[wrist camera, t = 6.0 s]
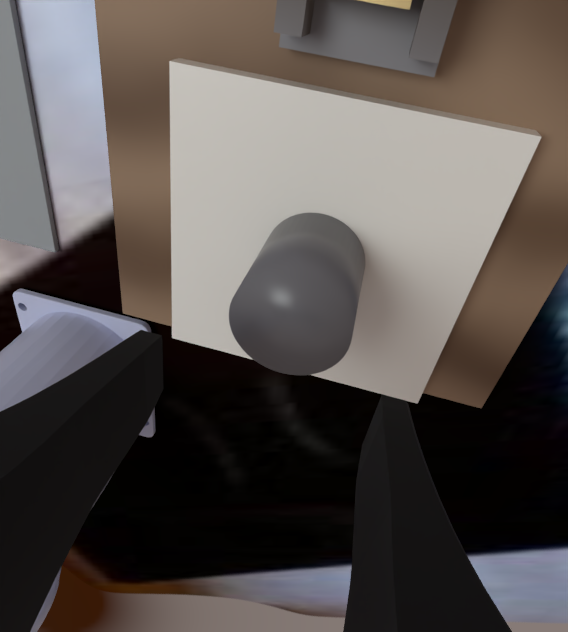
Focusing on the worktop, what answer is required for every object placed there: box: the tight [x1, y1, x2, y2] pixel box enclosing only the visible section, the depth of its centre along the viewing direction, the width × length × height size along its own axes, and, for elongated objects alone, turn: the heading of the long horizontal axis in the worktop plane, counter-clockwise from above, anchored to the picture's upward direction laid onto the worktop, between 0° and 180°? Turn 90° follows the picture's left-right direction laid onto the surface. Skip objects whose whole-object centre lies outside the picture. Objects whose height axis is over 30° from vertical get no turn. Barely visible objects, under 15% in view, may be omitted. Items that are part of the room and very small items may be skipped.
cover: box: [169, 58, 541, 404], centre depth 17 cm, size 12×12×5 cm
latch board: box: [95, 0, 568, 408], centre depth 16 cm, size 20×18×3 cm
